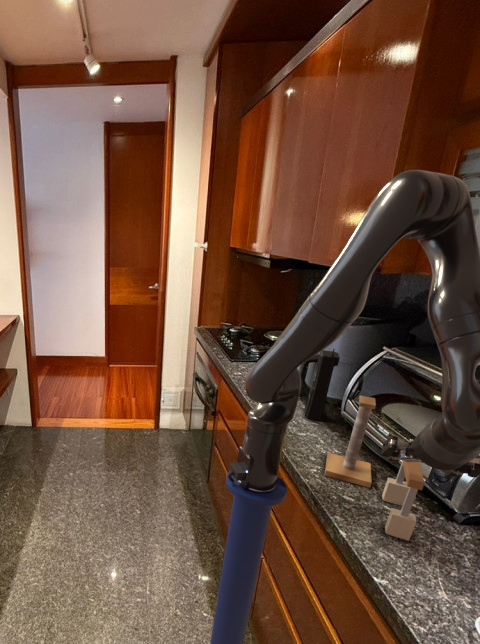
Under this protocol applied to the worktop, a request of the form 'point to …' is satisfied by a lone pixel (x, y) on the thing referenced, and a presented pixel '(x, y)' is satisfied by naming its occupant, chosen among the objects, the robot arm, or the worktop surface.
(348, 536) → the worktop surface
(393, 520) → the brown blocky piece
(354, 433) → the headphone stand
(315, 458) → the worktop surface
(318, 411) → the portable radio
